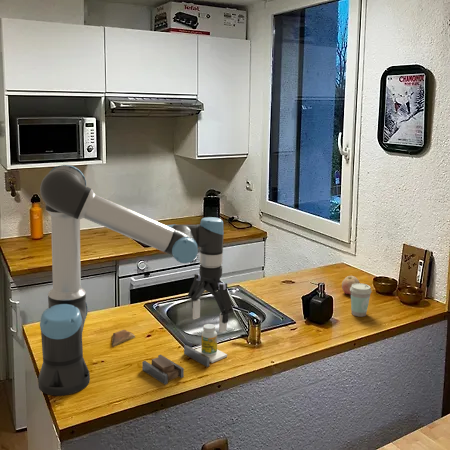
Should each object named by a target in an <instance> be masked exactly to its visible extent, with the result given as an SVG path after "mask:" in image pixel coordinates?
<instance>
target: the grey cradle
mask: <svg viewBox="0 0 450 450" xmlns="http://www.w3.org/2000/svg"><path fill="white" fill-rule="evenodd" d="M183 354H184V356H187V357H189V358H191V359H192V360H194V361H196V362H197V363H199V364H201V365H202V366H205V367H206V368H208V367H210V362H209V359H210V358H209V357H207V356H205V355H204V354H202V353H200V352H198V351H196V350H195V349H194V348H193V347H191V346H189V345H187V344H186V345H184V346H183ZM161 356H163V357H165V356H164V355H162V354H159V355H158V357H161ZM158 357H157V358H158ZM165 358H166V359H167V360H169V361H170V362H171V363H173V364H174V368H175V369H177V370H178V371H179V378H180V379H181V378H184V376H185V375H184V374H185V373H184V372H185V369H184V367H182V366H181V365H179V364H177V363H176V362H174V361H172V360H170V359H169V358H168V357H165ZM151 364H152V363H150V362H148V361H146V360H143V361H142V363H141V365H142V371H143V372H145V373H146V374H148V375H149V376H151V377H153V378H154V379H156V380H157V381H158V382H160V383H161V384H163V385H164V386H165V385H168V383H169V381H168V375H167V374H165V373H164V372H162V371H161V370H159V369H157V368H156V367H154V366H153V365H151Z"/></svg>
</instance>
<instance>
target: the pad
mask: <svg viewBox="0 0 450 450" xmlns="http://www.w3.org/2000/svg"><path fill="white" fill-rule="evenodd" d="M201 349H202V347H201V346H200V347H198V348H196V349H194V350H196V351H198V352H200V353H202V350H201ZM202 354H203V353H202ZM204 355H205V354H204ZM205 356H207V357H209V358H210V359H209V363H211V364H213V363H215V362H219V361H221V360H222V359H224V358H226V357H227V358H228V354H227V353H225V352H224V351H222V350H219V349H218V348H217V353H216V354H214V355H205Z"/></svg>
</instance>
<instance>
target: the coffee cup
mask: <svg viewBox="0 0 450 450" xmlns="http://www.w3.org/2000/svg"><path fill="white" fill-rule="evenodd" d="M350 291H351V295H350V305H351V308H350V310H351V315H353V316H355V317H363V318H364V317H366V316H367V312H368V308H369V303H370V302H369V301H370V298H371V293H373V291H372V288H371V286H370V285H368V284H366V283H356V284H352V286H351V288H350Z"/></svg>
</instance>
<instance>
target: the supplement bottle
mask: <svg viewBox="0 0 450 450" xmlns="http://www.w3.org/2000/svg"><path fill="white" fill-rule="evenodd" d="M200 341H201V346H200V347H202V349H201V350H202V353H203V354H205V355H214V354H216V353H217V349H218V332H217V331H216V326H215V324H212V323H206V324H203V329H202V331H201V340H200Z"/></svg>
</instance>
